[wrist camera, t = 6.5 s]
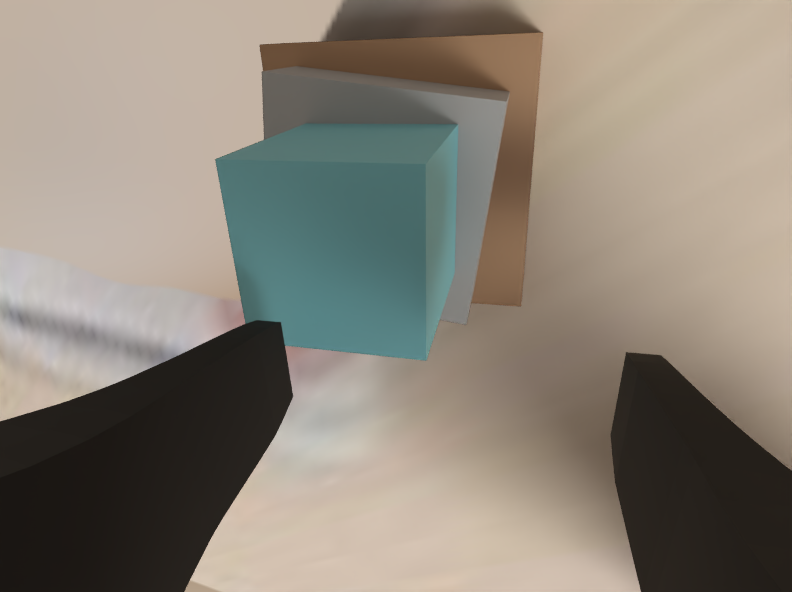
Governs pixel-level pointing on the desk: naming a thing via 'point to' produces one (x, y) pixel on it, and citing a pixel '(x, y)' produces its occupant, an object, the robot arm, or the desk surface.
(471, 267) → the gray slab
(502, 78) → the walnut slab
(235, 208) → the teal block
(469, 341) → the desk surface
